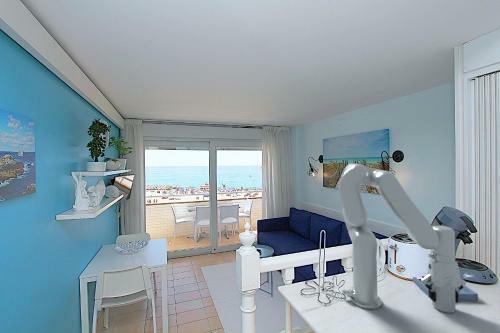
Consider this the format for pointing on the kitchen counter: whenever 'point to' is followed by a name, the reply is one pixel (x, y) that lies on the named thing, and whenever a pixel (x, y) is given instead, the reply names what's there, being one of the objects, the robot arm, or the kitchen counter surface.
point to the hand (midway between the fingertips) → (443, 299)
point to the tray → (464, 294)
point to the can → (445, 298)
